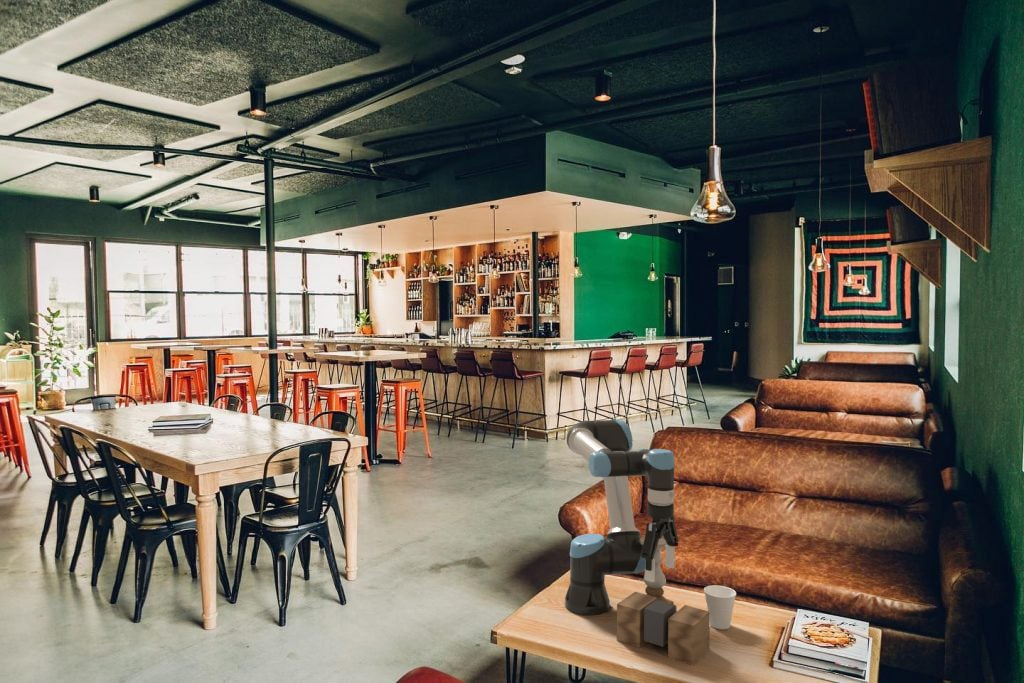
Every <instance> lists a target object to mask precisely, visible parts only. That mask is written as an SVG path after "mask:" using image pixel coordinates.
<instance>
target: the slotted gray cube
mask: <svg viewBox="0 0 1024 683" xmlns="http://www.w3.org/2000/svg"><path fill="white" fill-rule="evenodd" d="M675 605H676V604H674V605H673V604H669V603H665V602H662V601H658V600H656V601H654V602H653V603H652V604H650V605H649V606H647V607H646V608H644V641H646V643H651V644H653V645H656V646H660V647H665V646H666V645H667V644H668V643H667V638H668V622H667V619H668V618H670V617H671V616H672V615H673V614H675V613H676V612H675Z"/></svg>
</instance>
